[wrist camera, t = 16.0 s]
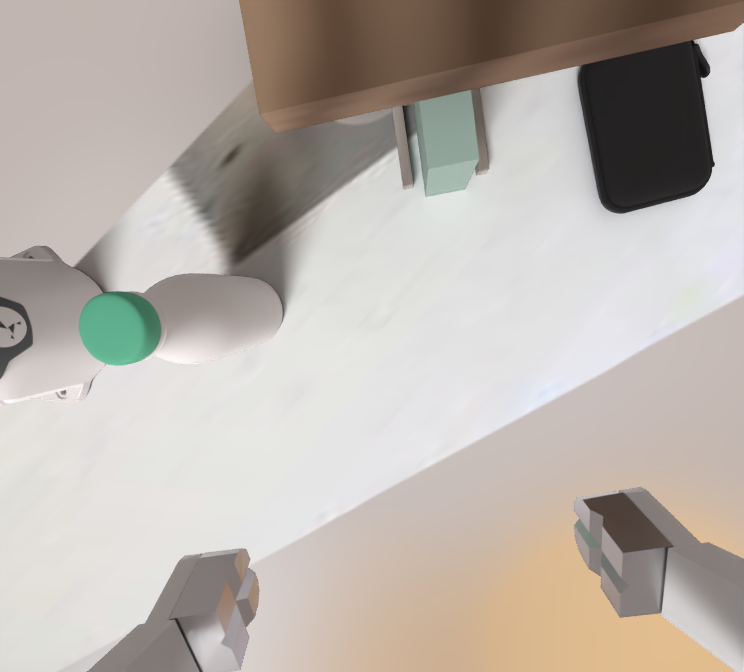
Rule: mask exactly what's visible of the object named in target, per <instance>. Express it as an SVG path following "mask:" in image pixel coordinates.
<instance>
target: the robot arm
mask: <svg viewBox="0 0 744 672" xmlns="http://www.w3.org/2000/svg"><path fill="white" fill-rule="evenodd" d="M102 293H103V292H102V290H101V289H100V288H99V287H98V285H97V284H96V283H95V282H94V281H93V280H92V279H91V278H89V277H88V276H87V275H85V274H84V273H82V272H81V271H79V270H77V269H75V268H73V267H71V266H69V265H67V264H65V263H64V262H63V261H62V260H61V259H60V257H59V256H58V255H57V254H56V253H55V252H54V251H53V250H52V249H50V248H49V247H47V246H34V247H32V248H30V249H27V250H25V251H23V252H21V253H19V254H16V255H14V256H12V257H10V258H2V257H0V405H5V404H9V403H13V402H18V401H22V400H26V399H37V400H50V401H62V402H76V401H81V400H83V399H84V398H85V397H86V395H87V393H88V391H89V388H90V385H91V381H92V379H93V378H94V377H95V375H96V374H97V373H98V372H99V371H100V370H101V369H102V368H103V367H104V365H105V363H103V362H101V361H99V360H97V359H96V358H94V357H93V356H92V355H91V354H90V353H89V352H88V350H87V349H86V348H85V346H84V344H83V342H82V340H81V337H80V332H79V319H80V315H81V312H82V309H83V308H84V306H85V305H86V303H87V302H88V301H89V300H90V299H92V298H93V297H95V296H97V295H99V294H102ZM574 511H575V513H576V514H577V515H578V517H579V520H578V521H577V522H576V524H575V525H574V531H575V539H576V543H577V546H578V549H579V551H580V554H581V556H582V558H583V560H584V561H585V563H586V564H587V566H588V568H589V569H590V570H591V571H593V572H595V573H596V574H598V575H599V576H601V589H602V590H603V592H604V593H605V595H606V597H607V598H608V600H609V601H610V603H611V605H612V606H613V608H614V609H615V611H616V612H617V614H618V616H619V617H620V618H621V617H629V616H638V615H648V614H657V613H662V614H661V615H662V616H663V617H664V618H665V619H667V620H668V621H669V622H671V623H672V624H673V625H675V626H676V627H677V628H679V629H680V630H681V631H683V632H684V633H685V634H687V635H688V636H689V637H691V638H692V639H693V640H695V641H696V642H697V643H699V644H700V645H701V646H703V647H704V648H705V649H706V650H708V651H709V652H710V653H712V654H713V655H715V656H716V657H717V658H718V659H720V660H721V661H723V662H724V663H725V664H726V665H728V666H729V667H730V668H732V669H733V670H734V671H736V672H744V559H743V558H741V557H739V556H736V555H734V554H732V553H730V552H728V551H726V550H724V549H721V548H719V547H717V546H715V545H713V544H711V543H700V542H699V541H698V540H697V539H696V538H695V537H694V536H693V535H692V534H691V533H690V532H689V531H688V530H687V529H686V528H685V527H684V526H683V525H682V524H681V523H680V522H679V521H678V520H677V519H676V518H675V517H674V516H673V515H672V514H671V513H670V512H669V511H668V510H667V509H666V508H664V507H663V506H662V505H661V504H660V503H659V502H658V501H657V500H656V499H655V498H654V497H653V496H652V495H651V494H650V493H649V492H648V491H647V490H646V489H644V488H642V487H638V488H632V489H625V490H620V491H613V492H607V493H601V494H595V495H588V496H582V497H576V499H575V502H574ZM249 562H250V557H249V555H248V552H247V550H246V549H242V548H241V549H233V550H225V551H216V552H208V553H204V554H195V555H187V556H184V557H183V558H182V559H181V560H179V562H178V563H177V565H176V567H175V569H174V571H173V573H172V574H171V576H170V578H169V580H168V582H167V584H166V586H165V587H164V589H163V591H162V593H161V595H160V597H159V598H158V600H157V602H156V604H155V606H154V608H153V610H152V611H151V613H150V615H149V617H148V619H147V621H146V623H145V624H140V625H138V626H137V627H136V628H134V629H133V630H132V631H131V632H130V633H129V634H128V635H127V636H126V637H125V638H123V639H122V640H121V641H120V642H119V643H118V644H117V645H116V646H115V647H114V648H113V649H111V650H110V651H109V652H108V653H107V654H106V655H105V656H104V657H103V658H102V659H101V660H99V661H98V662H97V663H96V664H95V665H94V666H93V667H92V668H91V669H90V670H89V671H87V672H231V671H237V670H240V669H241V666H242V662H243V659H244V655H245V651H246V648H247V644H248V640H249V635H248V632H247V630H246V627H247V626H248V625H249V623H250V622H251V621H252V620H253V619H254V617H255V615H256V610H257V607H258V599H259V585H258V579H257V576H256V573H255V572H254V571H252V570H251V569H250V568H248V565H249Z"/></svg>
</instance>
